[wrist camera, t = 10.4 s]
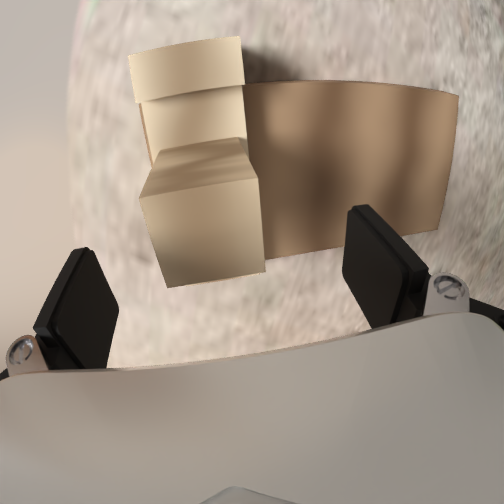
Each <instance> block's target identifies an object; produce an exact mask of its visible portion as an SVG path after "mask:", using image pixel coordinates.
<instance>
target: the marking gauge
mask: <svg viewBox="0 0 504 504" xmlns="http://www.w3.org/2000/svg"><path fill="white" fill-rule="evenodd" d="M128 60H129V67H130V73H131V79H132V85H133V91H134V97H135V103H140V102H141V106H142V111H143V116H144V122H145V127H146V132H147V137H148V141H149V146H150V151H151V155H152V160H153V166H152V169H151V171H150V173H149V176H148V178H147V180H146V183H145V185H144V187H143V190H142V192H141V194H140V197H139V201H140V204H141V208H142V211H143V215H144V218H145V221H146V225H147V228H148V231H149V235H150V238H151V241H152V244H153V247H154V250H155V253H156V256H157V259H158V262H159V265H160V268H161V271H162V274H163V277H164V280H165V283H166V286H167V288H171V287H178V286H184V285H186V286H192V285H198V284H204V283H210V282H217V281H223V280H229V279H235V278H241V277H247V276H252V275H258V274H260V273H263V272H266V270H265V257H264V245H263V232H262V220H261V208H260V196H259V184H258V177H257V175H256V173H255V171H254V169H253V167H252V165H251V163H250V161H249V152H248V142H247V132H246V122H245V112H244V102H243V92H242V85H245V80H244V70H243V61H242V51H241V41H240V36H233V37H223V38H215V39H207V40H200V41H193V42H187V43H182V44H176V45H171V46H166V47H161V48H157V49H152V50H148V51H144V52H140V53H136V54H132V55H129V56H128Z"/></svg>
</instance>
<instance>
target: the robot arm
mask: <svg viewBox="0 0 504 504" xmlns="http://www.w3.org/2000/svg"><path fill="white" fill-rule="evenodd" d="M428 269H429V268H428V267H427V265H426V264H425V263H424V262H423V261H422V260H421V259H420V257H419V256H418V255H417V254H416V253H415V252H414V251H413V250H412V249H411V248H410V246H409V245H408V244H407V243H406V242H405V241H404V240H403V239H402V238H401V237H400V236H399V235H398V234H397V233H396V232H395V230H394V229H393V228H392V227H391V226H390V225H389V224H388V223H387V222H386V221H385V220H384V219H383V218H382V217H381V216H380V215H379V214H378V213H377V212H376V211H375V210H374V209H373V208H372V207H371V206H370V205H368V204H363V205H355V206H353V207H352V209H351V210H349V211H348V213H347V224H346V236H345V247H344V257H343V266H342V274H343V277H344V279H345V281H346V283H347V285H348V286H349V288H350V290H351V292H352V294H353V295H354V297H355V299H356V301H357V302H358V304H359V306H360V308H361V310H362V311H363V313H364V315H365V317H366V319H367V321H368V323H369V324H370V326H371V328H372V329H370V330H366V331H362V332H357V333H353V334H349V335H345V336H341V337H336V338H332V339H328V340H323V341H318V342H314V343H309V344H304V345H299V346H294V347H288V348H283V349H277V350H272V351H266V352H260V353H254V354H248V355H241V356H234V357H227V358H220V359H212V360H204V361H196V362H187V363H177V364H167V365H155V366H142V367H127V368H106V367H107V362H108V357H109V352H110V348H111V343H112V339H113V334H114V330H115V326H116V322H117V318H118V314H119V307H118V303H117V301H116V299H115V297H114V295H113V293H112V291H111V289H110V287H109V284H108V282H107V280H106V278H105V276H104V273H103V271H102V269H101V267H100V264H99V262H98V260H97V257H96V255H95V253H94V251H93V250H90V249H89V248H88V247H84V248H79V249H74V250H73V251H72V252H71V254H70V256H69V257H68V259H67V261H66V263H65V265H64V266H63V268H62V270H61V272H60V274H59V276H58V278H57V279H56V281H55V283H54V285H53V287H52V289H51V291H50V293H49V295H48V297H47V299H46V301H45V303H44V305H43V307H42V309H41V311H40V313H39V315H38V317H37V320H36V322H35V324H34V326H33V329H34V330H35V332H36V333H37V334H36V336H35V337H33V336H32V335H24V336H21V337H20V338H18V339H16V340H15V341H14V342H13V343H12V344H11V346H10V347H9V349H8V351H7V354H6V365H7V369H5V370H4V371H3V372H2V373H0V504H504V310H502V309H499V308H497V307H494V306H491V305H489V304H486V303H483V302H480V301H478V300H475V299H472V298H469V289H468V287H467V285H466V283H465V282H464V281H463V280H462V279H460V278H459V277H457V276H455V275H453V274H450V273H445V272H442V273H436V274H434V275H433V276H431V275H430V274H429V273H428Z"/></svg>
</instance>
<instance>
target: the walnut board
mask: <svg viewBox="0 0 504 504" xmlns="http://www.w3.org/2000/svg"><path fill="white" fill-rule="evenodd" d="M242 92H243V102H244V112H245V122H246V132H247V142H248V152H249V161H250V163H251V165H252V167H253V169H254V171H255V173H256V175H257V177H258V184H259V196H260V208H261V220H262V232H263V245H264V257H265V260H268V259H274V258H279V257H285V256H291V255H297V254H303V253H309V252H314V251H320V250H326V249H331V248H337V247H343V246H345V236H346V224H347V213H348V211H349V210H351V209H352V207H353V206H355V205H363V204H368V205H370V206H371V207H372V208H373V209H374V210H375V211H376V212H377V213H378V214H379V215H380V216H381V217H382V218H383V219H384V220H385V221H386V222H387V223H388V224H389V225H390V226H391V227H392V228H393V229H394V230H395V232H396V233H397V234H398V235H399V236H404V235H410V234H415V233H421V232H426V231H431V230H437V229H438V225H439V221H440V217H441V213H442V209H443V204H444V200H445V195H446V190H447V185H448V180H449V175H450V169H451V163H452V157H453V150H454V142H455V134H456V125H457V114H458V100H459V96H457V95H454V94H451V93H447V92H444V91H439V90H433V89H427V88H421V87H414V86H406V85H397V84H388V83H376V82H362V81H339V80H300V81H276V82H261V83H250V84H245V85H242ZM139 108H140V113H141V119H142V124H143V129H144V134H145V139H146V143H147V148H148V153H149V157H150V162H151V166H153V160H152V155H151V151H150V146H149V141H148V137H147V132H146V127H145V122H144V116H143V111H142V106H141V103H140V104H139Z"/></svg>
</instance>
